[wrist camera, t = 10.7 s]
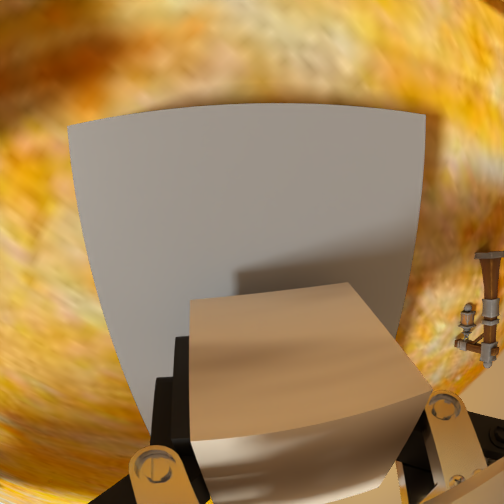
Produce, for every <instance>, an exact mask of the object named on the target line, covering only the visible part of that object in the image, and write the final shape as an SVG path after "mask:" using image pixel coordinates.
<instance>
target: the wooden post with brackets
mask: <svg viewBox="0 0 504 504" xmlns="http://www.w3.org/2000/svg"><path fill="white" fill-rule="evenodd" d="M501 257H504V251H490V252H489V253H475V258H474V259H480V263H481V268H482V274H483V282H484V299H482V301H483V312H482V316H484V319H483V320H482V324H484V333H483V334H481V335H480V336H479V337H478V338H477V339H476V340H474V341H471V340H468V336H469V334H470V333H472V332H469V331H470V329H471V328H472V327H474V326H476V324H474V314H475V312H476V311H472V310H471V309H472V306H471V305H470V304H466V305H465V307H464V310H465V311H463V312H461V324H460V325H458V326H459V327H461V328H463V329H464V332H462V333H463V334H464V336H465V335H468V336H465V338H467V339H466V340H465V338H464V339H463V340H462V339H458V340H455V345H454V347H457V348H460V350H464V351H466V350H469V351H473V352H476V353H480V354H481V357H480V361H484V362H483V365H484V367H485V368H490V367H491V366H492V361H494V360H496V355H497V354H498V353H499V347H497V344H498V342H496V327H497V324H498V323H499V319H497V316H498V315H499V299H500V298H497V293H498V279H499V267H500V260H501ZM483 337H484V342H482V343H481V344H479V343H477V342H478V341H480V340H481V339H482V338H483Z"/></svg>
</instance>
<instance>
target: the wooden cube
mask: <svg viewBox="0 0 504 504" xmlns="http://www.w3.org/2000/svg"><path fill="white" fill-rule="evenodd" d="M432 391H433V389H432V387H431V386H430V385H429V383H428V382H427V381H426V379H425V378H424V377H423V375H422V374H421V373H420V371H419V370H418V369H417V367H416V366H415V365H414V363H413V362H412V361H411V360H410V358H409V357H408V356H407V354H406V353H405V352H404V351H403V349H402V348H401V347H400V345H399V344H398V343H397V342H396V340H395V339H394V338H393V337H392V335H391V334H390V333H389V332H388V330H387V329H386V328H385V327H384V325H383V324H382V323H381V322H380V320H379V319H378V318H377V317H376V315H375V314H374V313H373V312H372V310H371V309H370V308H369V307H368V306H367V304H366V303H365V302H364V301H363V299H362V298H361V297H360V296H359V295H358V293H357V292H356V291H355V290H354V289H353V287H352V286H351V285H350V284H349V283H348V282H345V283H338V284H330V285H323V286H315V287H307V288H299V289H290V290H282V291H273V292H264V293H255V294H246V295H236V296H227V297H216V298H206V299H195V300H190V326H189V411H190V442H191V445H192V448H193V450H194V453H195V456H196V459H197V462H198V464H199V467H200V470H201V473H202V475H203V478H204V481H205V483H206V486H207V488H208V491H209V493H210V496H211V498H212V501H213V503H214V504H325V503H329V502H333V501H336V500H340V499H343V498H347V497H350V496H353V495H356V494H360V493H363V492H366V491H369V490H372V489H375V488H377V487H379V485H380V484H381V482H382V481H383V479H384V478H385V476H386V475H387V473H388V472H389V470H390V468H391V467H392V465H393V464H394V462H395V460H396V459H397V457H398V455H399V454H400V452H401V450H402V449H403V447H404V445H405V444H406V442H407V440H408V438H409V436H410V435H411V433H412V431H413V429H414V427H415V425H416V423H417V422H418V420H419V418H420V416H421V414H422V412H423V410H424V408H425V406H426V404H427V402H428V400H429V397H430V395H431V393H432Z"/></svg>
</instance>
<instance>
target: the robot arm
mask: <svg viewBox="0 0 504 504" xmlns="http://www.w3.org/2000/svg"><path fill="white" fill-rule="evenodd" d="M396 468H397V474H398V480H399V487H400V494H401V501H402V504H504V420H501V419H497V418H493V417H489V416H484V415H480V414H477V413H473V412H469V411H467V410H466V407H465V405H464V403H463V401H462V399H461V398H460V397H459V396H458V395H456V394H454V393H452V392H450V391H446V390H438V391H435V392H432V393H431V395H430V397H429V400H428V402H427V404H426V406H425V408H424V410H423V412H422V414H421V416H420V418H419V420H418V422H417V423H416V425H415V427H414V429H413V431H412V433H411V435H410V436H409V438H408V440H407V442H406V444H405V445H404V447H403V449H402V450H401V452H400V454H399V455H398V457H397V459H396ZM209 499H210V493H209V491H208V488H207V486H206V483H205V481H204V478H203V475H202V473H201V470H200V467H199V464H198V462H197V459H196V456H195V453H194V450H193V448H192V445H191V442H190V411H189V336H180V337H175V349H174V366H173V377H157V378H156V382H155V391H154V402H153V413H152V425H151V440H150V446H147V447H144V448H142V449H140V450H139V451H137V452H136V453H135V454H134V455H133V456H132V458H131V459H130V462H129V474H128V475H127V476H126V477H124V478H123V479H122V480H120V481H119V482H118V483H116V484H115V485H113V486H112V487H111V488H109V489H108V490H107V491H105V492H104V493H102V494H101V495H99V496H98V497H97V498H95V499H94V500H92V501H91V502H89V503H88V504H205V503H206V502H207V501H208V500H209Z"/></svg>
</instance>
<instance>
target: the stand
mask: <svg viewBox="0 0 504 504" xmlns="http://www.w3.org/2000/svg"><path fill="white" fill-rule="evenodd" d="M67 128H68V139H69V149H70V158H71V166H72V173H73V180H74V187H75V193H76V199H77V205H78V211H79V216H80V221H81V226H82V231H83V236H84V241H85V245H86V250H87V254H88V258H89V263H90V267H91V271H92V275H93V278H94V282H95V286H96V290H97V293H98V297H99V300H100V304H101V307H102V310H103V314H104V317H105V320H106V323H107V327H108V330H109V333H110V336H111V339H112V342H113V345H114V348H115V350H116V353H117V356H118V359H119V362H120V364H121V367H122V370H123V372H124V375H125V377H126V380H127V383H128V385H129V388H130V390H131V393H132V395H133V397H134V400H135V402H136V405H137V407H138V409H139V411H140V414H141V416H142V418H143V420H144V423H145V425H146V427H147V429H148V431H149V434H150V436H151V425H152V413H153V402H154V391H155V382H156V378H157V377H173V366H174V349H175V337H180V336H189V326H190V300H195V299H206V298H216V297H227V296H236V295H246V294H255V293H264V292H273V291H282V290H290V289H299V288H307V287H315V286H323V285H330V284H338V283H345V282H348V283H349V284H350V285H351V286H352V287H353V289H354V290H355V291H356V292H357V293H358V295H359V296H360V297H361V298H362V299H363V301H364V302H365V303H366V304H367V306H368V307H369V308H370V309H371V310H372V312H373V313H374V314H375V315H376V317H377V318H378V319H379V320H380V322H381V323H382V324H383V325H384V327H385V328H386V329H387V330H388V332H389V333H390V334H391V335H392V337H393V338H394V339H395V337H396V333H397V330H398V326H399V322H400V318H401V313H402V309H403V305H404V300H405V296H406V291H407V286H408V281H409V276H410V271H411V265H412V260H413V254H414V248H415V241H416V235H417V228H418V220H419V212H420V203H421V194H422V183H423V171H424V156H425V132H426V115H424V114H418V113H411V112H404V111H396V110H388V109H379V108H369V107H358V106H345V105H328V104H303V103H252V104H226V105H210V106H196V107H185V108H175V109H166V110H157V111H150V112H142V113H135V114H129V115H122V116H116V117H110V118H105V119H100V120H94V121H89V122H84V123H80V124H75V125H70V126H67Z"/></svg>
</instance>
